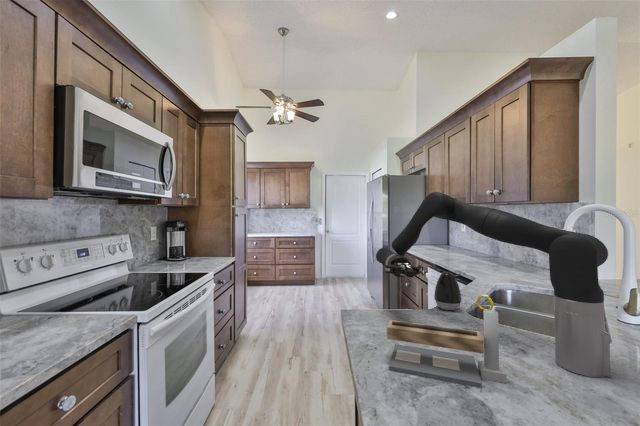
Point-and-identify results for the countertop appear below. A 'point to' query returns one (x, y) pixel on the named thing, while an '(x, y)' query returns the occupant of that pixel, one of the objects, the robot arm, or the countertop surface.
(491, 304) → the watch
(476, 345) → the brown long rectangular block
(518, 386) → the countertop surface
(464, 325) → the countertop surface
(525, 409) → the countertop surface
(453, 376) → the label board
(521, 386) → the countertop surface
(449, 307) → the black egg-shaped device
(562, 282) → the robot arm
